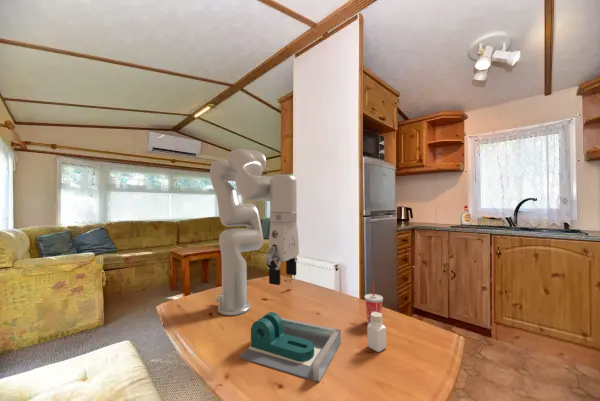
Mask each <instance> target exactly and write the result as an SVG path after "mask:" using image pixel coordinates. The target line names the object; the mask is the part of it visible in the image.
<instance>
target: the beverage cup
mask: <svg viewBox="0 0 600 401" xmlns="http://www.w3.org/2000/svg"><path fill="white" fill-rule="evenodd" d="M364 300H365V309H366V311H365V312H366V321H367V322H366V323H367V325H369V324H371V313H372V312H378V313H381V314H382V315H383V313H382V310H383V301H384V297H383V295H380V294H377V293H375V282H374V281H372V293H367V294H365V295H364Z"/></svg>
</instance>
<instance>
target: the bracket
mask: <svg viewBox="0 0 600 401" xmlns="http://www.w3.org/2000/svg"><path fill="white" fill-rule="evenodd" d="M281 317H282V316H280V315H279V314H278V313H277V312H274V311H269V312H268V313H266V314H264V315H263V316H262V317H261V318H259V319H257V320H256V321H254V322H253V323H252V324H251V327H250V346H251V347H254V348H257V349H260V350H263V351H266V352H270V353H273V354H276V355H279V356H282V357H286V358H289V359H292V360H295V361H300V362H303V361H308V360H310V359H312V358H313V356H314V344H313V342H311V341H310V340H307V339H303V338H299V337H295V336H291V335H288V334H284V333H283V322H282V319H281Z"/></svg>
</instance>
